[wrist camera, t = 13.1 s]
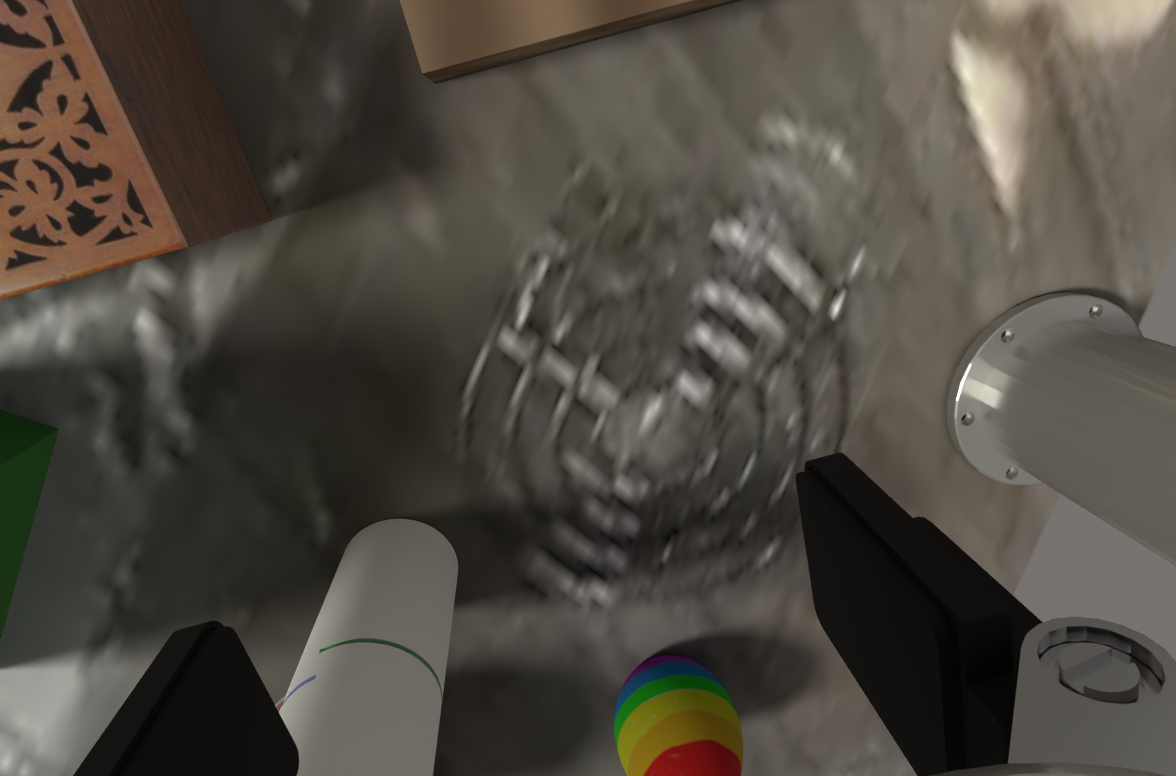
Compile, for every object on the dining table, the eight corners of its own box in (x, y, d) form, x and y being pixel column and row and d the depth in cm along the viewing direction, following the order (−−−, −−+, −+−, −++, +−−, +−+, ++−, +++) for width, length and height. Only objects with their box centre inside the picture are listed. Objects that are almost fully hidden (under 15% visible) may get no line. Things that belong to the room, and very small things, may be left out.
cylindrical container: (316, 565, 42) (71, 1097, 18) (403, 497, 41) (259, 967, 18) (398, 634, 44) (272, 1184, 21) (481, 571, 43) (447, 1073, 20)
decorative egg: (634, 746, 50) (662, 885, 40) (588, 668, 47) (607, 799, 37) (736, 701, 49) (788, 831, 40) (696, 620, 46) (743, 740, 37)
